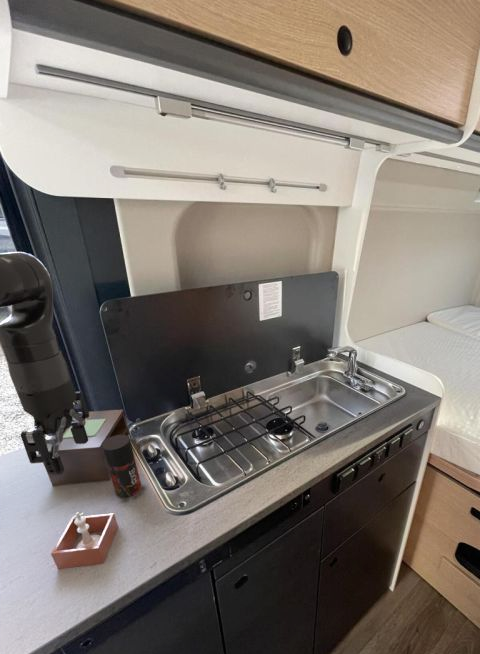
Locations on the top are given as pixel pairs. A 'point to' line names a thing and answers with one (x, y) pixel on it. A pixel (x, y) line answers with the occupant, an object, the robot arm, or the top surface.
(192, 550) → the top surface
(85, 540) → the chess piece
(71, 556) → the reddish-brown hollow diamond-shaped frame
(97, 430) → the green-topped wooden plinth
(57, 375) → the robot arm
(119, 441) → the deodorant
